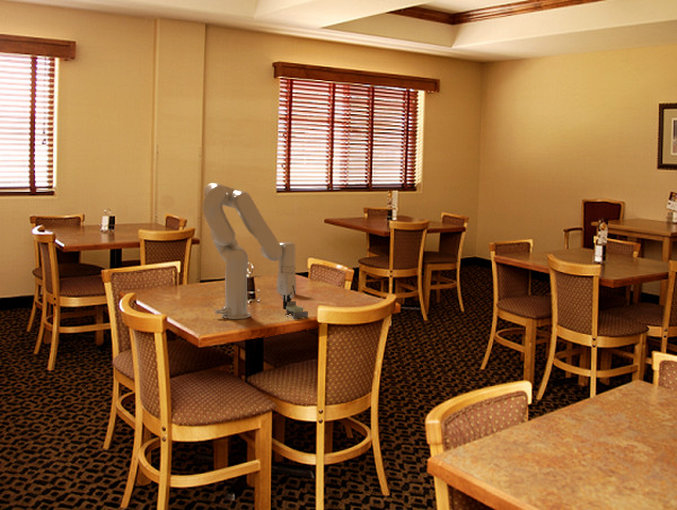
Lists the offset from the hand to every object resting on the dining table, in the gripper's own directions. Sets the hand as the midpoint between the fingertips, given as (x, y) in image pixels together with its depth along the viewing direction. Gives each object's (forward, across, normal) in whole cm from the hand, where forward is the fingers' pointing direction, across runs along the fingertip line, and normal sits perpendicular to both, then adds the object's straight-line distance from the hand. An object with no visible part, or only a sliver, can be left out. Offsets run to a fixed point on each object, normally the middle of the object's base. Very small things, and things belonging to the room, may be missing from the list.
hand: (286, 308), depth 316 cm
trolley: (+2, +6, +1) cm, 6 cm away
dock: (+2, +9, 0) cm, 9 cm away
